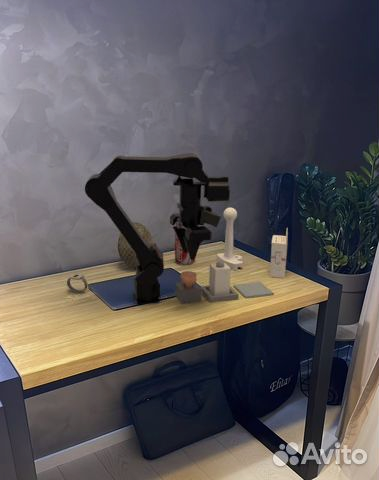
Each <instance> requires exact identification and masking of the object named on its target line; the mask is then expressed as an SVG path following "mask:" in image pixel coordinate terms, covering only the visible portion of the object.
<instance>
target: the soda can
mask: <svg viewBox="0 0 379 480" xmlns="http://www.w3.org/2000/svg"><path fill="white" fill-rule="evenodd" d="M174 233H175V232H174ZM174 259H175V262H176V263H177V264H179V265H183V266H185V265H187V266H189V265H191V264H192V263H194V262H196V261H195V260H196V259H195V260H191V259H190V256H189V253H188V252H187V253H184V252H183V250H182V247H181V245H180V242H179V240H178V238H177V235H176V233H175V234H174Z"/></svg>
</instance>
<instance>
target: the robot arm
mask: <svg viewBox="0 0 379 480" xmlns="http://www.w3.org/2000/svg"><path fill="white" fill-rule="evenodd" d="M122 173H151V174H152V173H155V174H156V173H158V174H161V173H162V174H164V173H166V174H169V175H175V176H176V178H175V179H174V180H172V184H173V186H174V187H175V186H179V203H177V205H176V206H177V208H178V209H179V211H178V212H179V213H177V212H176V213H172V214H171V215H170V216H169V224H170V225H171V226H172V229H173V231H174V233H176V235H177V238H178V240H179V242H180V245H181V247H182V250H183V252H184V253H187V252H188V253H189V256H190V259H191V260H196V257H197V254H198V251H199V248H200V246H201V244H202V243H203V242H204V241H205V242H206V241H211V240H212V237H213V236H212V235H213V233H212V231H211V230H210V229H209V228H208V227H206V226H205V224H206V225H210V226H213V227H214V228H218V227H219V224H220V221H221V218H222V216H221V215H219V213H216V212H214V211H213V208H212V207H210V206H208V205H201V204H202V197H203V198H204V199H206V201H207V202H229V200H230V196H231V195H230V193H231V190H230V186H229V185H230V183H229V177H228V176H227V175H221V176H209V175H208V173H207V171H204V169H203V163H202V161H201V158H200V157H199V156H198V155H197V154H195V153H194V152H187V153H186V152H185V153H181V154H175V155H172V156H166V157H165V156H161V157H160V156H126V155H125V156H124V155H116V156H115V157H114V158H113V160H112V161H111V162H110V163H109V164H108V165H106V167H104V168H103V169H102V170H101V171H100V172H99V173H94V174H92V175H91V176H90V177H88V180H87V181H86V183H85V185H84V192H85V195H86V196H87V197H88V198H89V199H90V200H91V201H92V202H93V203H94V205H96V206H97V207H99V208H101V210H103V211H104V212H105V213H106V215H108V217H109V219H110V220H111V221H112V223H113V224H114V225H115V227H116V228H117V229H118V231H119V232H120V233H121V234H122V235H123V236H124V238H125V239H126V240H127V242H128V243H129V245H130V246H131V247H132V249H133V250H134V251H135V253H136V256H137V258H138V261H139V265H138V266H137V267H135V277H134V278H133V280H134V282H133V283H134V285H133V287H134V294H132V296H134V297H133V298H135V299H134V301H135V302H136V304H137V305H138V306H139V305H140V306H141V305H145V304H146V305H148V304H154V303H155V304H157V303H160V302H161V299H160V298H161V284H160V282H159V279H158V277H160V276H162V274H163V273H164V271H165V265H164V264H165V263H164V253H163V251H161V250H160V248H159V247H158V245H157V243H156V242H153V245H152V246H151V245H150V244H149V243H147V242H146V241H145V239H144V238H143V237H142V235H141V234H140V232H139V231H138V230H137V228H136V227H135V225H134V224H133V223H134V222H133V221H132V220H131V218H130V217H129V216H128V214H127V213H126V211H125V210H124V209H123V207H122V206H121V205H120V203H119V201H118V200H117V197H116V194H115V192H114V189H113V186H112V184H113V183H114V182H115V181H116V180H117V179H118V178H119V176H121V175H122ZM183 177H184V178H183ZM194 179H195V180H196V181H195V180H194Z"/></svg>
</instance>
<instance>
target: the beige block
mask: <svg viewBox="0 0 379 480" xmlns="http://www.w3.org/2000/svg"><path fill="white" fill-rule="evenodd" d="M231 270H232V269H231V268H230V267H229V266H228V265H226V264H225V263H222V262H218V261H217V262H216V263H211V264H209V277H208V278H209V281H208V282H209V283H208V285H209V293H210V294H211V295H212V296H217V295H225V294H230V286H231V272H232V271H231Z"/></svg>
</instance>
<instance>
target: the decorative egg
mask: <svg viewBox="0 0 379 480" xmlns="http://www.w3.org/2000/svg"><path fill="white" fill-rule="evenodd" d="M132 223H133V224H134V225H135V227H136V228H137V230H138V231H139V232H140V234H141V235H142V237H143V238H144V239H145V241H146V242H147V243H149V244H150V245H151V246H152V245H153V244H154V242H153V241H154V240H153V237H152V234H151V232H150V230H149V229H148V228H147V227H146V226H145V225H144V224H141V223H139V222H132ZM117 252H118V255H119V257H120V259H121V260H122V262H123V263H124V264H126V265H127V266H129V267H133V268H136V267H137V266H138V265H139V261H138V258H137V256H136V253H135V251H134V250H133V249H132V247H131V246H130V245H129V243H128V242H127V240H126V239H125V238H124V236H123V235H122V234H121V232H120V234H119V236H118V240H117Z"/></svg>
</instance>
